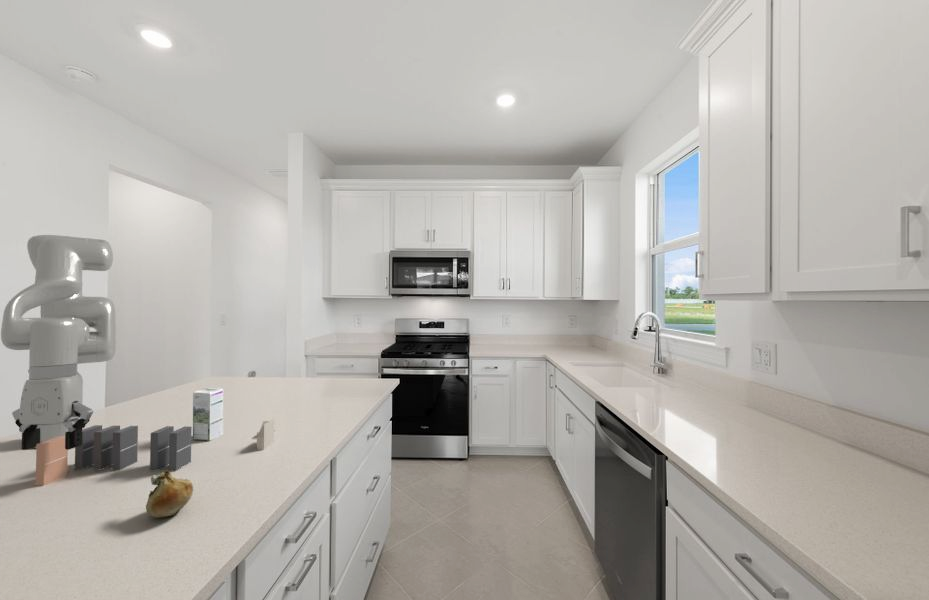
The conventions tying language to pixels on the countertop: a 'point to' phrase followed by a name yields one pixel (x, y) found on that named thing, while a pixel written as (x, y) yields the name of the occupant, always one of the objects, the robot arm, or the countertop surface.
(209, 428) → the syrup box
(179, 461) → the domino
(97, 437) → the domino
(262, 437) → the architectural model
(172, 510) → the onion
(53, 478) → the domino
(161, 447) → the domino
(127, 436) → the domino
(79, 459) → the domino
